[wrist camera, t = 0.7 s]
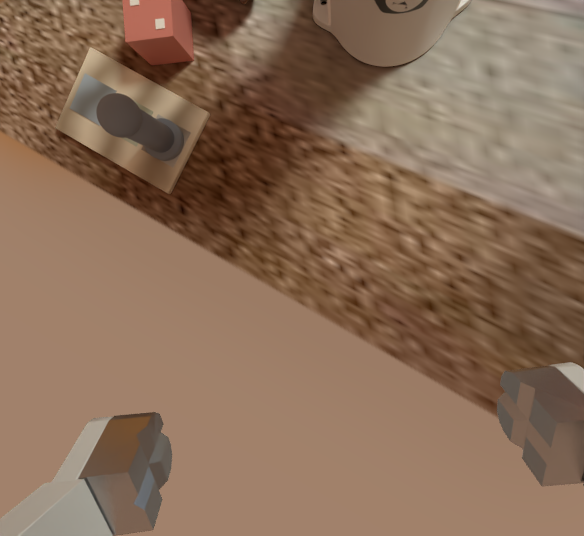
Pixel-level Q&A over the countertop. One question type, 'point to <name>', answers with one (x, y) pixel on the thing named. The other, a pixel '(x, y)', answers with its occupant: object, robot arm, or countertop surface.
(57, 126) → the board
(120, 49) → the countertop surface
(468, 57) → the countertop surface
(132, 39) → the die
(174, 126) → the pawn
